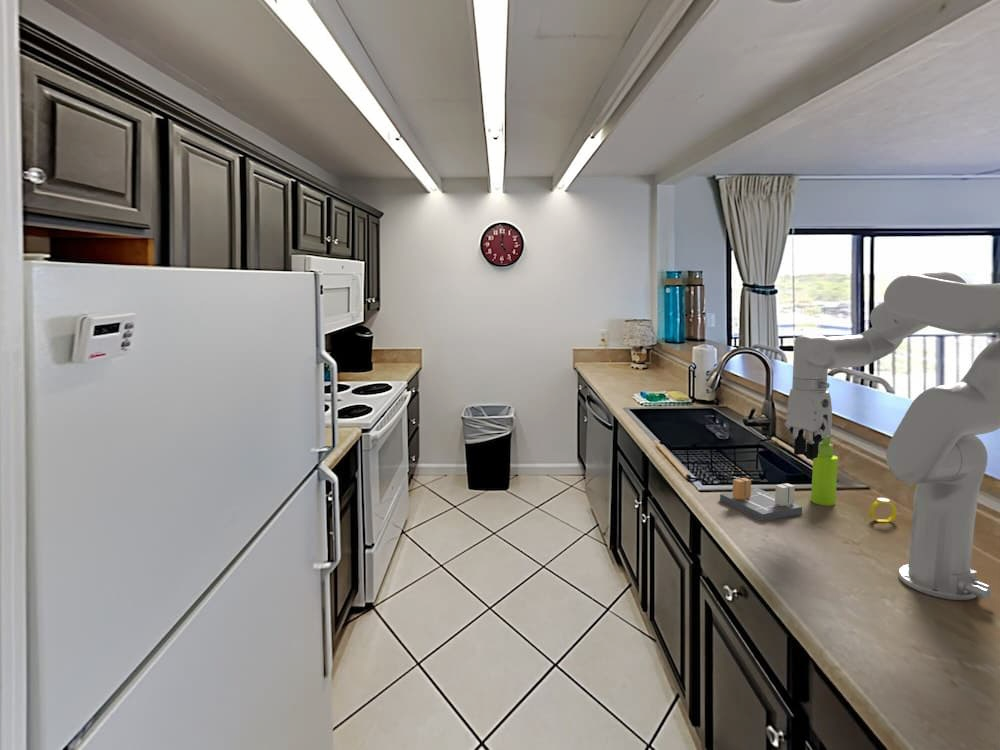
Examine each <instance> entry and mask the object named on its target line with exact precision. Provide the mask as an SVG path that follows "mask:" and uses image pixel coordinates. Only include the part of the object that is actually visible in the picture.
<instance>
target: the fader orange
mask: <svg viewBox="0 0 1000 750" xmlns="http://www.w3.org/2000/svg"><path fill="white" fill-rule="evenodd" d="M751 489H752V480H751V479H750V478H747V477H741V478H740V477H739V478H734V479H732V492H733V497H734V498H736V499H738V500H740V499H746V498H751Z"/></svg>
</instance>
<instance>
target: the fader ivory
mask: <svg viewBox="0 0 1000 750" xmlns="http://www.w3.org/2000/svg"><path fill="white" fill-rule="evenodd" d="M795 487H796V486H795V485H793V484H790V483H788V482H787V483H786V482H785V483H781V484H775V492H774V493H775V494H774V495H775V503H776V504H778V505H781V506H786V505H791V504H795V490H796V489H795Z"/></svg>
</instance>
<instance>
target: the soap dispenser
mask: <svg viewBox="0 0 1000 750" xmlns="http://www.w3.org/2000/svg"><path fill="white" fill-rule="evenodd" d="M821 433H822V430H821ZM831 434H832V435H831V436H830V437H827V438H824V439H823V440H822V441H821V443H819V446H818V457H817V458H813V459H812V475H811V476H812V478H811V479H812V480H811V491H810V493H811V496H810V501H811V502H812V503H814V504H815V505H816V504H817V505H820V506H827V507H828V506H829V507H830V506H831V507H832V506H834V505H836V499H837V498H836V497H837V496H836V495H837V484H838V483H837V480H838V478H837V477H838V463H839V457H838V456H836V455H834V444H833V443H831V437H833V436H834V433H833V432H831Z"/></svg>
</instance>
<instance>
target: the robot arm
mask: <svg viewBox="0 0 1000 750" xmlns="http://www.w3.org/2000/svg"><path fill="white" fill-rule="evenodd" d="M869 317H870V318H869V319H870V320H869V321H870V324H871V326H872V327H870V328H868V329H866V330H864V331H863V332H861V333H858V334H854V335H853V334H852V335H837V336H836V335H835V336H826V335H821V334H803V335H798V336H796V337H795V338H794V344H793V367H792V382H791V383H792V385H791V388H790V391H789V395H788V397H787V398H788V400H787V405H786V421H785V422H784V426H785V427H786V428H787V429H788V430H789V431H790V433H791V437H792V439H793V440H794V444H793V447H794V448H793V454H794V455H795V456H800V455H805V458H806V459H808V460H813V458H817V457H818V454H819V443H821V442H823V439H824V438H827V437H830V438H831V437H832V436H831V435H832V434H833V433H832V431H831V430H832V427H833V410H832V409H833V408H832V398H831V393H830V391H827V389H829V388H830V383H829V382H828V370H831V369H833V370H836V369H842V368H843V369H844V368H856V367H857V368H858V367H864V366H868V365H871V364H872V363H874V362H877V361H879V360H881V359H882V358H884V357H886V356H888V355H890V354H892V353H894V352H895V351H896V350H897V349H898V348H899V347H900V346H901V344H902V343H903V341H904V339H906V338H908V337H910V336H912V335H914V334H915V333H918V332H919V331H921V330H923V329H925V328H927V327H932V328H936V329H939V330H943V331H948V332H952V333H957V334H963V335H978V334H979V335H980V334H994V333H995V334H996V333H997V335H996V336H995V338H994V339H993V341H991V342H990V343H989V344H988V345H987V346H986V347H985V348H984V349H982V351H980V353H979V354H977V356H976V358H975V360H974V361H973V363H972V365H971V366H970V368H969V370H968V371H967V372H966V373H965V375H964V376H963V378H961V380H960V381H958V382H956V383H952V384H951V383H950V384H942V385H937V386H932V387H930V388H928V389H926V390H924V391H923V392H922V393H920V394H919V395H918V396H917V397H915V398H914V400H913V401H912V402H911V404H910V405H909V407H908V409H907V411H906V412H905V414H904V416H903V417H902V419H901V421H900V423H899V425H898V426H897V428H896V430H895V431H894V433H893V435H892V437H891V439H890V441H889V442H888V445H887V448H886V451H885V452H886V453H885V461H886V463H887V467H888V469H889V471H890V473H891V474H893V476H894V477H896V478H897V479H898V480H900V481H902V482H905V483H909V484H915V485H916V489H915V492H914V497H913V506H912V508H913V510H912V522H911V533H910V534H911V535H910V545H909V557H908V564H903V565H902V566H901V567H899V568H898V573H897V574H898V578H899V579H900V580H901V582H903V583H904V584H905V585H907V586H908V587H910V588H912V589H914V590H916V591H918V592H920V593H922V594H924V595H925V594H926V595H929V596H933V597H935V598H940V599H944V600H945V599H946V600H952V601H969V600H973V599H975V598H977V597H978V598H980V599H982V600H984V601H987V600H989V598H990V596H991V591H992V586H991V585H988V584H986V583H984V582H982V581H979V580H978V578H977V571H976V570H974V569H971V565H972V553H973V545H974V544H973V541H974V533H975V524H976V523H975V521H976V516H977V506H978V499H979V498H978V497H979V493H980V488H981V485H982V483H983V479H984V476H985V474H986V473H985V472H986V471H987V466H988V451H987V448H986V446H985V444H984V442H983V441H982V440H981V438H979V437H978V436H979V435H984V434H988V433H993V432H995V431H998V430H1000V282H999V283H998V282H997V283H975V284H974V283H967V281H966V280H965V279H964V278H962V277H961V276H959V275H957V274H955V273H952V272H947V271H925V272H924V271H923V272H922V271H921V272H919V271H918V272H915V271H914V272H909V273H904V274H902V275H900V276H898V277H896V278H894V279H893V280H892V281H891V282H890V283H889V284H888V286H887V287H886V289H885V292H884V294H883V302H881V303H879V304H878V305H876V306H875V307H874V308H873V309H872V310H871V312H870V316H869ZM821 430H822V433H821ZM806 431H808V442H807V438H805V435H806ZM831 433H832V434H831ZM977 435H978V436H977Z"/></svg>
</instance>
